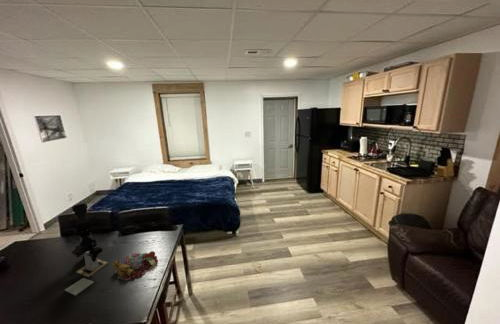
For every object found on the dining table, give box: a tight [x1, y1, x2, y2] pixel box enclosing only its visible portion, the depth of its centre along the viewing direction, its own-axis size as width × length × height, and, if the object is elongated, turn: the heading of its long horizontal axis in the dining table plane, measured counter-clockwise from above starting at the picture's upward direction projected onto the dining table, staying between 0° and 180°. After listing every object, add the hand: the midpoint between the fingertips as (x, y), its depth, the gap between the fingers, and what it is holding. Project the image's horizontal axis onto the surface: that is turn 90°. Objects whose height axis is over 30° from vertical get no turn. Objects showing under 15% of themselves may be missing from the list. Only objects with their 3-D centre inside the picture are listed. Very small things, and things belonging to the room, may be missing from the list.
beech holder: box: [76, 258, 109, 278], centre depth 138 cm, size 12×13×1 cm
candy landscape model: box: [112, 250, 159, 281], centre depth 138 cm, size 25×24×9 cm
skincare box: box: [83, 251, 100, 272], centre depth 137 cm, size 6×4×12 cm
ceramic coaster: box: [64, 277, 95, 296], centre depth 123 cm, size 10×10×1 cm
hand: (91, 260), depth 137 cm, fingers closed on skincare box, 6 cm apart
